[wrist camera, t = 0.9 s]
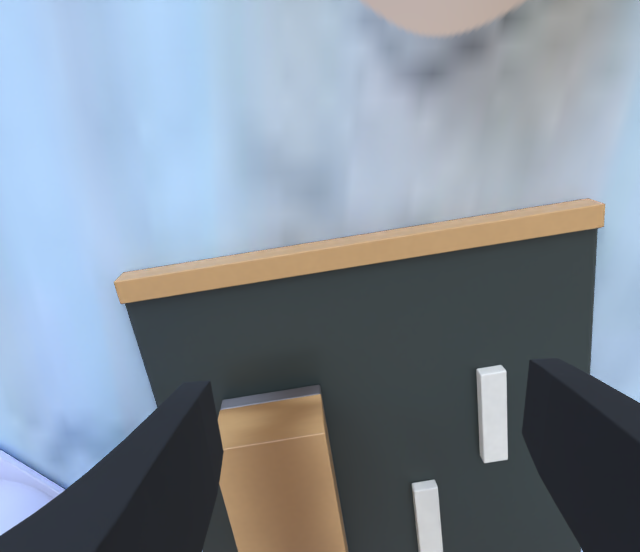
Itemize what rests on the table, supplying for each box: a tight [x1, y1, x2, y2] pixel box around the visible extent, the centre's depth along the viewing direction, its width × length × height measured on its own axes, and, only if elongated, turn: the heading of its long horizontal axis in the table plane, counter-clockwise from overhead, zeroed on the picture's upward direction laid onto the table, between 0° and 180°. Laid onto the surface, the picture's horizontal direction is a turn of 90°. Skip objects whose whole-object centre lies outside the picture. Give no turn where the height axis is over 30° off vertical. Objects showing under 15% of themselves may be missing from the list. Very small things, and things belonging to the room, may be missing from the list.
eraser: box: [218, 385, 349, 552], centre depth 22 cm, size 4×12×4 cm, turn 8°
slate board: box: [114, 198, 605, 552], centre depth 24 cm, size 20×25×1 cm
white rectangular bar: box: [412, 480, 443, 552], centre depth 25 cm, size 1×5×1 cm, turn 8°
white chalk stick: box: [476, 365, 508, 463], centre depth 23 cm, size 1×5×1 cm, turn 8°
